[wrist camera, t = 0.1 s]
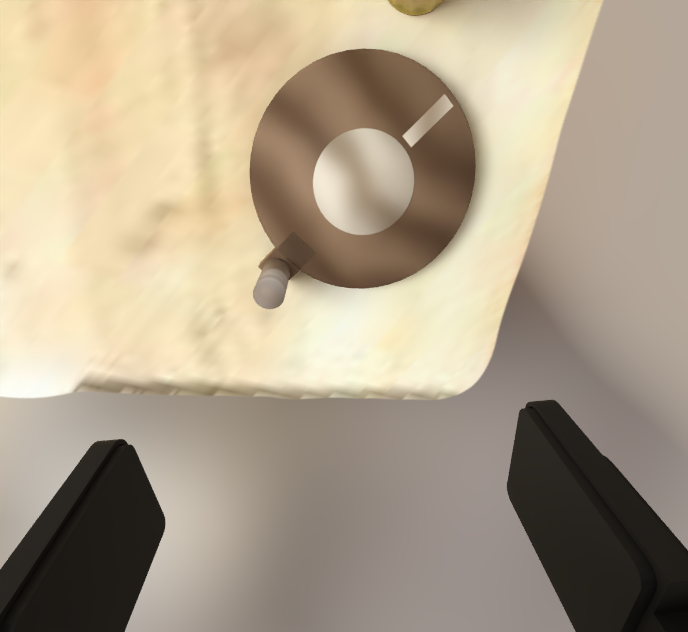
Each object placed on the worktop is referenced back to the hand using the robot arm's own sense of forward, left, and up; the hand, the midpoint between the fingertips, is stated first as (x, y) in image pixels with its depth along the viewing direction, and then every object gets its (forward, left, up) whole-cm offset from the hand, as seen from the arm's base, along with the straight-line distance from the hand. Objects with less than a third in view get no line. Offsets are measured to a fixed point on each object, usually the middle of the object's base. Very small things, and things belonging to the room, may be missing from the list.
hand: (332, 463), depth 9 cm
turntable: (-3, +1, -30) cm, 30 cm away
